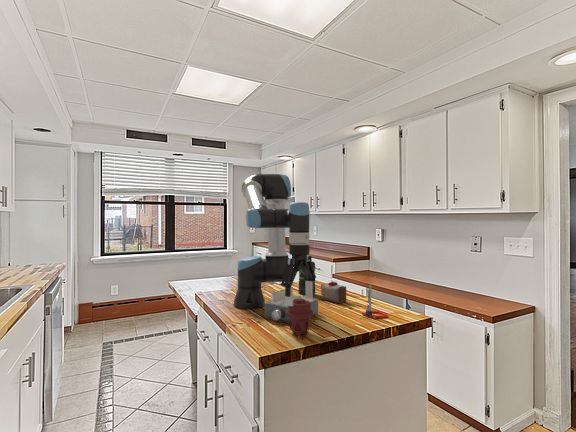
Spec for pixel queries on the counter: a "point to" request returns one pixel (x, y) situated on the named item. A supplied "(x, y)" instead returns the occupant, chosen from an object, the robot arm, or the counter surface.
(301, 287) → the coffee jar
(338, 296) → the food item
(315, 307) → the motor housing
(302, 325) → the mechanical component
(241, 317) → the counter surface
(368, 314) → the tow hook
